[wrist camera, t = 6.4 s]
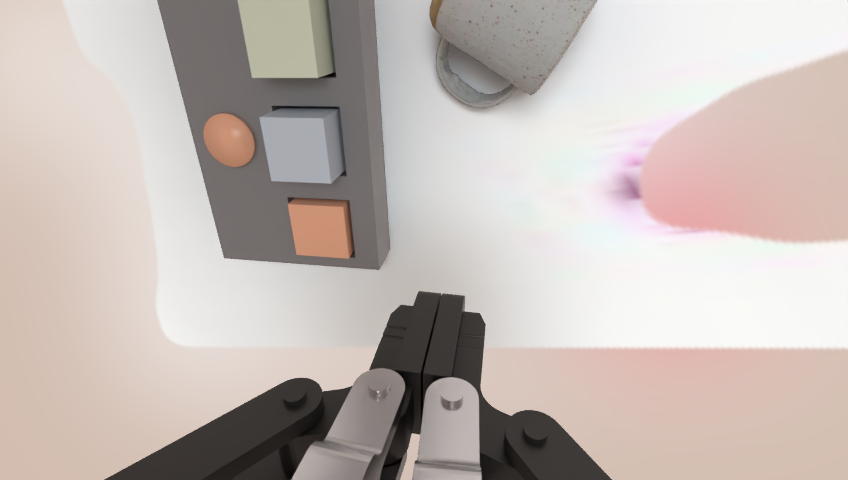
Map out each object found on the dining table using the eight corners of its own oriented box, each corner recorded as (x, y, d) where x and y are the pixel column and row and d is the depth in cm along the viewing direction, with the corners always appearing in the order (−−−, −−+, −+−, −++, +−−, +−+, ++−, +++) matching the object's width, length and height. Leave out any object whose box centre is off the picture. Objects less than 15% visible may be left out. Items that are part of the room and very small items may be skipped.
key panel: (187, -17, 33) (147, -20, 29) (372, -24, 30) (353, -28, 27) (245, 239, 42) (221, 260, 39) (389, 249, 40) (377, 272, 36)
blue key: (281, 107, 33) (259, 117, 30) (339, 108, 32) (323, 118, 29) (290, 167, 35) (271, 181, 32) (346, 169, 34) (330, 183, 31)
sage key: (263, -1, 30) (237, -2, 27) (327, -3, 29) (308, -4, 26) (275, 71, 32) (252, 77, 29) (335, 71, 31) (317, 77, 28)
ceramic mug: (486, -92, 27) (476, -121, 21) (600, -26, 28) (626, -33, 21) (414, 70, 33) (387, 88, 26) (511, 124, 33) (509, 155, 27)
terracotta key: (304, 189, 37) (287, 204, 35) (356, 191, 37) (343, 207, 34) (311, 237, 39) (296, 254, 37) (360, 240, 39) (348, 258, 36)
